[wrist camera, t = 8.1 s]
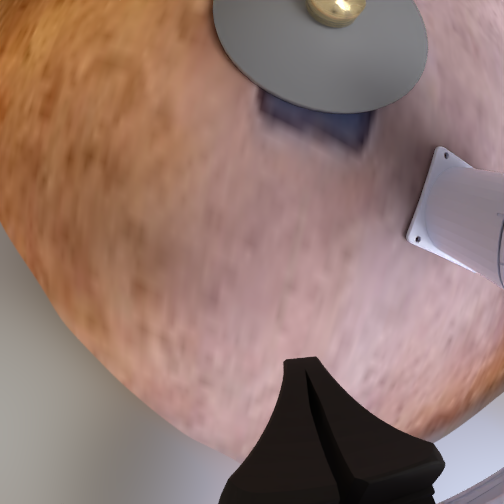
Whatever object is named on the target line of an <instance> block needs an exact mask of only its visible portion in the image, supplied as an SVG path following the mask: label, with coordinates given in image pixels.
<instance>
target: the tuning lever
mask: <svg viewBox="0 0 504 504" xmlns="http://www.w3.org/2000/svg"><path fill="white" fill-rule="evenodd" d="M305 4H306V8H307V11H308V12H309V14H310V15H311V16H312V17H313V18H314V19H315V20H316V21H318V22H320V23H321V24H324V25H326V26H329V27H335V28H342V27H346V26H349V25H351V24H352V23H353V22H354V21H355V19H356V18H357V17H358V16H359V15H360V13H361V12H362V11H363V10H364V8H365V6H366V0H306V3H305Z"/></svg>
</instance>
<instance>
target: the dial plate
mask: <svg viewBox="0 0 504 504" xmlns="http://www.w3.org/2000/svg"><path fill="white" fill-rule="evenodd" d="M305 3H306V0H213V17H214V24H215V28H216V31H217V34H218V37H219V40H220V42H221V44H222V46H223V48H224V50H225V52H226V54H227V55H228V56H229V58H230V59H231V61H232V62H233V63H234V64H235V66H236V67H237V68H238V69H239V70H240V71H241V72H242V73H243V74H244V75H245V76H246V77H247V78H249V79H250V80H251V81H252V82H253V83H255V84H256V85H257V86H259V87H260V88H262V89H263V90H265V91H266V92H268V93H270V94H272V95H274V96H275V97H277V98H279V99H281V100H283V101H286V102H288V103H291V104H293V105H295V106H299V107H302V108H305V109H309V110H313V111H318V112H323V113H332V114H356V113H363V112H368V111H372V110H375V109H378V108H381V107H384V106H387V105H389V104H391V103H393V102H395V101H397V100H399V99H400V98H402V97H403V96H405V95H406V94H407V93H408V92H409V91H410V90H411V89H412V88H413V87H414V86H415V84H416V83H417V82H418V80H419V79H420V77H421V75H422V73H423V71H424V68H425V64H426V61H427V54H428V40H427V34H426V29H425V25H424V22H423V19H422V17H421V15H420V12H419V10H418V8H417V6H416V5H415V3H414V2H413V0H366V6H365V8H364V10H363V11H362V12H361V13H360V15H359V16H358V17H357V18H356V19H355V21H354V22H353V23H352V24H351V25H349V26H346V27H342V28H335V27H329V26H326V25H324V24H321V23H320V22H318V21H316V20H315V19H314V18H313V17H312V16H311V15H310V14H309V12H308V11H307V8H306V4H305Z"/></svg>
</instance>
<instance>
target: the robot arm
mask: <svg viewBox="0 0 504 504" xmlns="http://www.w3.org/2000/svg"><path fill="white" fill-rule="evenodd" d="M444 154H446V158H445V157H444ZM417 236H418V237H419V238H418V240H417V241H416V237H417ZM406 239H407V241H408V242H409V243H411V244H414V245H416V246H418V247H420V248H423V249H425V250H427V251H429V252H432V253H434V254H436V255H438V256H441V257H443V258H445V259H447V260H449V261H451V262H453V263H456V264H458V265H460V266H462V267H464V268H466V269H468V270H470V271H472V272H474V273H478V274H480V275H482V276H483V277H485V278H486V279H488V280H490V281H491V282H493V283H494V284H496V285H497V286H499V287H500V288H502V289H503V290H504V173H501V172H495V171H488V170H481V169H474V168H473V167H471V166H470V165H469V164H467V163H466V162H465V161H463V160H462V159H460V158H459V157H457V156H456V155H455V154H453V153H452V152H450V151H449V150H447V149H446V148H444V147H442V146H438V147H436V149H435V152H434V155H433V159H432V162H431V166H430V169H429V172H428V175H427V178H426V182H425V185H424V188H423V191H422V194H421V197H420V199H419V202H418V205H417V208H416V211H415V213H414V216H413V219H412V222H411V224H410V227H409V229H408V232H407V235H406ZM283 365H284V375H283V381H282V386H281V390H280V394H279V397H278V400H277V403H276V406H275V408H274V411H273V413H272V416H271V418H270V420H269V422H268V424H267V426H266V428H265V430H264V432H263V434H262V435H261V437H260V439H259V441H258V442H257V444H256V445H255V447H254V448H253V450H252V451H251V452H250V454H249V455H248V457H247V458H246V459H245V461H244V462H243V463H242V464H241V465H240V467H239V468H238V469H237V470H236V471H235V472H234V473H233V474H232V475H231V477H230V478H229V479H228V481H227V483H226V485H225V487H224V489H223V492H222V494H221V496H220V499H219V503H218V504H435V501H434V499H433V496H432V495H433V494H434V493H435V491H434V488H433V486H432V484H433V483H434V482H435V481H436V479H437V478H438V477H439V476H440V474H441V473H442V471H443V470H444V468H445V462H444V460H443V458H442V456H441V454H440V452H439V451H438V449H437V448H436V447H435V445H434V444H433V443H431V442H428V441H425V440H422V439H419V438H416V437H413V436H411V435H409V434H407V433H404V432H402V431H400V430H398V429H396V428H394V427H393V426H391V425H389V424H387V423H386V422H384V421H382V420H380V419H379V418H378V417H376V416H375V415H373V414H372V413H370V412H369V411H368V410H366V409H365V408H364V407H363V406H361V405H360V404H359V403H358V402H357V401H356V400H354V399H353V398H352V397H351V396H350V395H349V394H348V393H347V392H346V391H345V390H344V389H343V388H342V387H341V386H340V385H339V384H338V383H337V381H336V380H335V379H334V378H333V377H332V376H331V375H330V373H329V372H328V371H327V370H326V368H325V367H324V366H323V365H322V363H321V362H320V360H319V359H318V358H317V357H316V356H315V357H306V358H297V359H286V360H285V361H284V362H283ZM438 504H504V468H502V469H501V470H499V471H497V472H496V473H494V474H493V475H491V476H490V477H488V478H486V479H484V480H483V481H481V482H479V483H477V484H476V485H474V486H472V487H471V488H468V489H467V490H465V491H463V492H461V493H459V494H457V495H455V496H453V497H451V498H449V499H447V500H445V501H442V502H440V503H438Z"/></svg>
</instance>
